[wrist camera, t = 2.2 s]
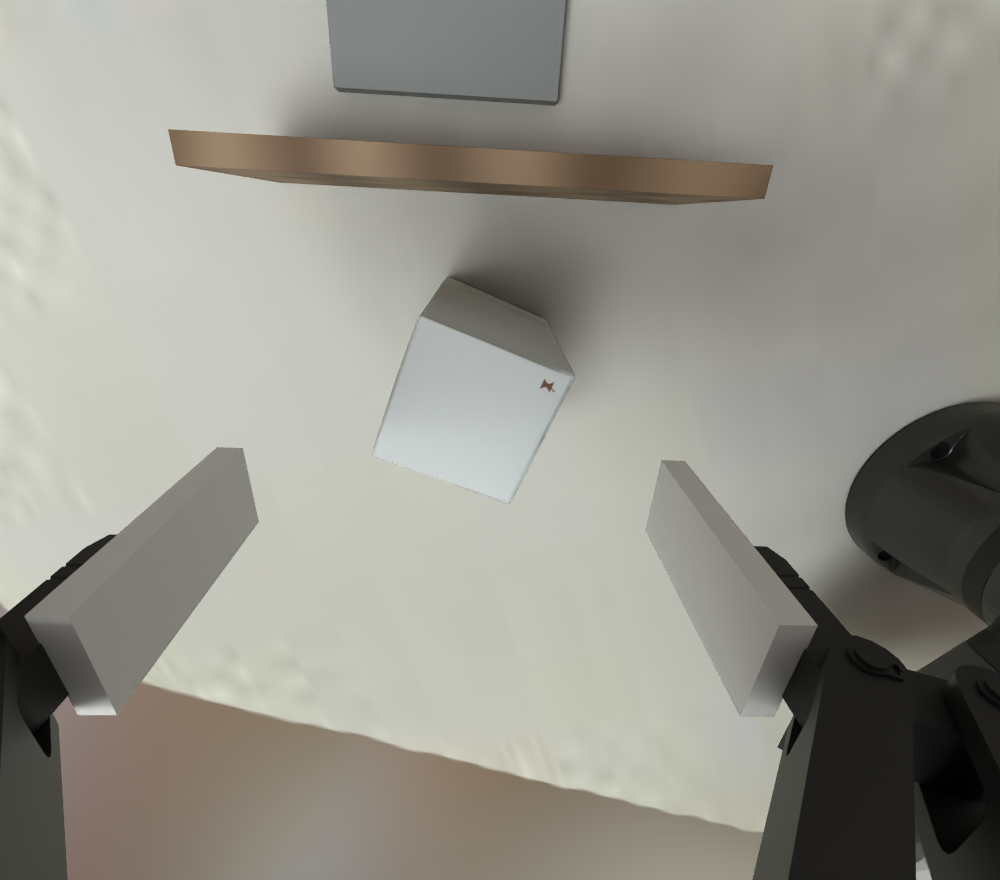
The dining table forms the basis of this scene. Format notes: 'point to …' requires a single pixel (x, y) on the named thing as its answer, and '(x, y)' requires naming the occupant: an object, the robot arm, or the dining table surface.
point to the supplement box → (474, 392)
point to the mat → (448, 48)
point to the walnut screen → (468, 169)
